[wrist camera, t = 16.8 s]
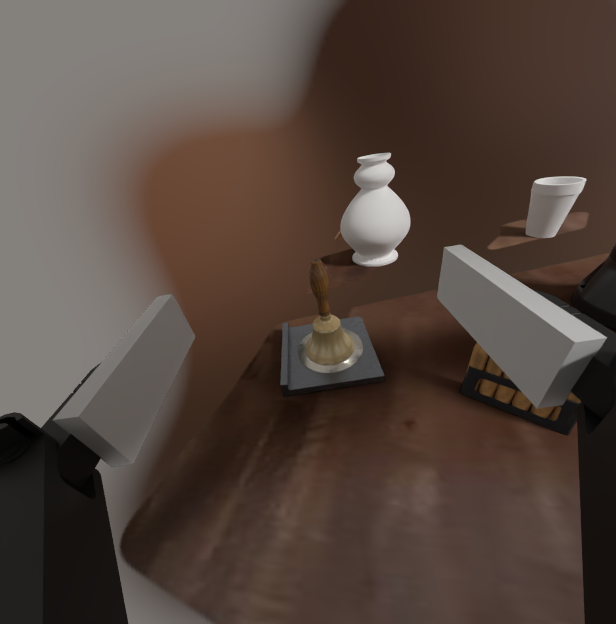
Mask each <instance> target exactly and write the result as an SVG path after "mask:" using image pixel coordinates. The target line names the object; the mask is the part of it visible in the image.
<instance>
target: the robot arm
mask: <svg viewBox="0 0 616 624" xmlns="http://www.w3.org/2000/svg"><path fill="white" fill-rule="evenodd" d="M437 298H438V299H439V301H440V302H441V303H442V304H443V305H444V306H445V307H446V308H447V309H448V311H449V312H450V313H451V314H452V315H453V316H454V317H455V318H456V319H457V321H458V322H459V323H460V324H461V325H462V326H463V327H464V328H465V329H466V331H467V332H468V333H469V334H470V335H471V336H472V337H473V338H474V339H475V341H476V342H477V343H478V344H479V345H480V346H481V347H482V348H483V349H484V351H485V352H486V353H487V354H488V355H489V356H490V357H491V358H492V359H493V360H494V362H495V363H496V364H497V365H498V366H499V367H500V368H501V369H502V370H503V372H504V373H505V374H506V375H507V376H508V377H509V378H510V379H511V380H512V382H513V383H514V384H515V385H516V386H517V387H518V388H519V389H520V390H521V392H522V393H523V394H524V395H525V396H526V397H527V398H528V399H529V400H530V402H531V403H532V404H533V405H534V406H535V407H536V408H537V409H538V408H545V407H553V406H560V405H563V404H564V402H565V401H566V399H567V398H568V396H569V395H570V393H571V392H572V393H573V394H574V395H575V396H576V397H577V398H578V399H579V400H580V401H581V402H580V404H579V405H578V407H577V408H576V409H575V411H574V412H573V413H572V415H571V416H570V418H569V419H568V421H567V424H566V425H569V426H572V425H573V423H574V422H575V421H576V420H577V427H578V454H579V480H580V507H581V533H582V560H583V586H584V613H585V624H616V333H615V332H613V331H611V330H610V329H608V328H607V327H605V326H608V327H610V328H613V329H616V243H615V245H614V247H613V249H612V251H611V253H610V254H609V256H608V257H607V259H606V260H605V261H603V262H602V263H601V264H600V265H599V266H598V267H597V268H596V269H595V270H594V271H592V272H591V273H590V274H589V275H588V276H587V277H586V278H585V279H584V280H583V281H581V282H580V283H579V284H578V286H577V287H576V289H575V291H574V293H573V295H572V298H571V301H572V304H573V305H574V307H575V308H576V309H575V308H573V307H572V306H571V307H569V304H567V303H565V302H564V301H562V300H560V299H559V298H557V297H555V296H553V295H550V294H547V293H544V292H542V291H539V290H532V289H530V288H528V287H527V286H525V285H524V284H522V283H521V282H519V281H517V280H516V279H514V278H513V277H511V276H510V275H508V274H506V273H505V272H503V271H501V270H500V269H499V268H497V267H495V266H494V265H492V264H491V263H489V262H488V261H486V260H484V259H483V258H481V257H479V256H478V255H476V254H475V253H473V252H472V251H470V250H469V249H467V248H466V247H464V246H462V245H457V246H451V247H445V248H444V254H443V260H442V267H441V273H440V280H439V287H438V294H437ZM580 312H581V313H582V314H581V313H580ZM602 324H603V325H605V326H603V325H602ZM194 339H195V335H194V333H193V331H192V330H191V328H190V326H189V324H188V322H187V320H186V318H185V317H184V315H183V313H182V311H181V309H180V307H179V306H178V304H177V302H176V300H175V298H174V296H173V294H170V295H164V296H159V297H157V298H156V299H155V300H154V301H153V302H152V304H151V305H150V306H149V307H148V308H147V309H146V311H145V312H144V313H143V314H142V315H141V316H140V318H139V319H138V320H137V321H136V323H135V324H134V325H133V326H132V327H131V328H130V330H129V331H128V332H127V333H126V334H125V335H124V336H123V338H122V339H121V340H120V341H119V342H118V344H117V345H116V346H115V347H114V348H113V350H112V351H111V352H110V353H109V354H108V355H107V356H106V358H105V359H104V360H103V361H102V362H101V363H100V364H99V365H97V366H96V367H95V368H93V369H92V370H91V371H90V372H89V373H88V375H87V376H86V377H85V378H84V379H83V380H82V381H81V382H82V383H81V384H79V385H78V386H77V387H76V388H75V390H74V391H73V392H74V393H72V394H70V395H69V397H68V398H67V399H66V400H65V401H64V402H63V403H62V405H61V406H60V407H59V408H58V409H57V411H56V412H55V413H54V414H53V415H52V416H51V417H50V418H49V420H48V421H47V422H46V423H45V424H44V425H43V427H42V428H40V427H38V426H37V425H35V424H34V423H33V422H31V421H30V420H29V419H27V418H26V417H25V416H23V415H22V414H21V413H15V412H14V413H10V414H6V415H3V416H1V417H0V624H128V620H127V614H126V609H125V604H124V599H123V593H122V587H121V582H120V576H119V571H118V566H117V561H116V555H115V550H114V544H113V538H112V533H111V528H110V522H109V517H108V511H107V506H106V501H105V495H104V490H103V485H102V479H101V474H100V473H99V471H98V470H97V469H95V467H96V465H97V464H98V462H99V460H100V459H102V460H103V461H105V462H106V463H107V464H109V465H110V466H111V467H116V466H123V465H130V464H134V462H135V460H136V458H137V455H138V453H139V451H140V449H141V447H142V445H143V443H144V441H145V439H146V437H147V435H148V433H149V431H150V429H151V427H152V425H153V423H154V421H155V419H156V416H157V414H158V412H159V410H160V408H161V406H162V404H163V402H164V400H165V398H166V396H167V394H168V392H169V390H170V388H171V386H172V384H173V381H174V380H175V378H176V376H177V373H178V371H179V369H180V367H181V365H182V363H183V361H184V359H185V357H186V355H187V352H188V351H189V349H190V347H191V345H192V343H193V340H194Z"/></svg>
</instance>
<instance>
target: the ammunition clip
mask: <svg viewBox="0 0 616 624" xmlns="http://www.w3.org/2000/svg"><path fill="white" fill-rule="evenodd" d="M488 357H489V355H488V354H487V353H486V352H485V351H484V349H483V348H482V347H481V346H480V345H479V344H478V343H476V344H475V346H474V348H473V352H472V355H471V359H470V362H469V365H468V369H467V372H466V376H465V378H464V381H463V384H462V386H461V389H460V393H462V394H464V395H467V396H469V397H472V398H474V399H477V400H479V401H482V402H484V403H487V404H489V405H492V406H494V407H497V408H499V409H502V410H504V411H507V412H509V413H512V414H514V415H517V416H519V417H522V418H524V419H527V420H529V421H532V422H534V423H537V424H540V425H542V426H545V427H547V428H550V429H552V430H555V431H557V432H560V433H562V434H565V435H569V433H570V432H571V430H572V428H573V427H574V425H575V424H576V422H577V420H576V421H575V422H574V423H573V425H572V426H569V425H566V424H567V421H568V419H569V418H570V416H571V415H572V413H573V412H574V411H575V409H576V408H577V407H578V405H579V404H580V402H581V401H580V400H579V399H578V398H577V397H576V396H575V395H574V394H573V393H572V392H571V393H570V395H569V396H568V398H567V399H566V401H565V402H564V404H563V405H560V406H556V408H555V406H553V407H545V408H538V409H537V408H536V407H535V406H534V405H533V404H532V403H531V402H530V400H529V399H528V398H527V397H526V396H525V395H524V394H523V393H522V392H521V390H520V389H519V388H518V387H517V386H516V385H515V384H514V383H513V382H512V380H511V379H510V378H509V377H508V376H507V375H506V374H505V373H504V372H503V370H502V369H501V368H500V367H499V366H498V365H497V364H496V363H495V362H494V360H493V359H492V358H491V357H489V360H488ZM487 360H488V362H487ZM484 370H485V371H484ZM502 375H503V376H502ZM501 376H502V377H501ZM481 379H482V380H481ZM480 381H481V383H480ZM498 384H499V385H498ZM497 386H498V388H497ZM496 388H497V389H496ZM516 390H517V391H516ZM515 392H516V393H515ZM514 394H515V395H514ZM554 408H555V409H554Z"/></svg>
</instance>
